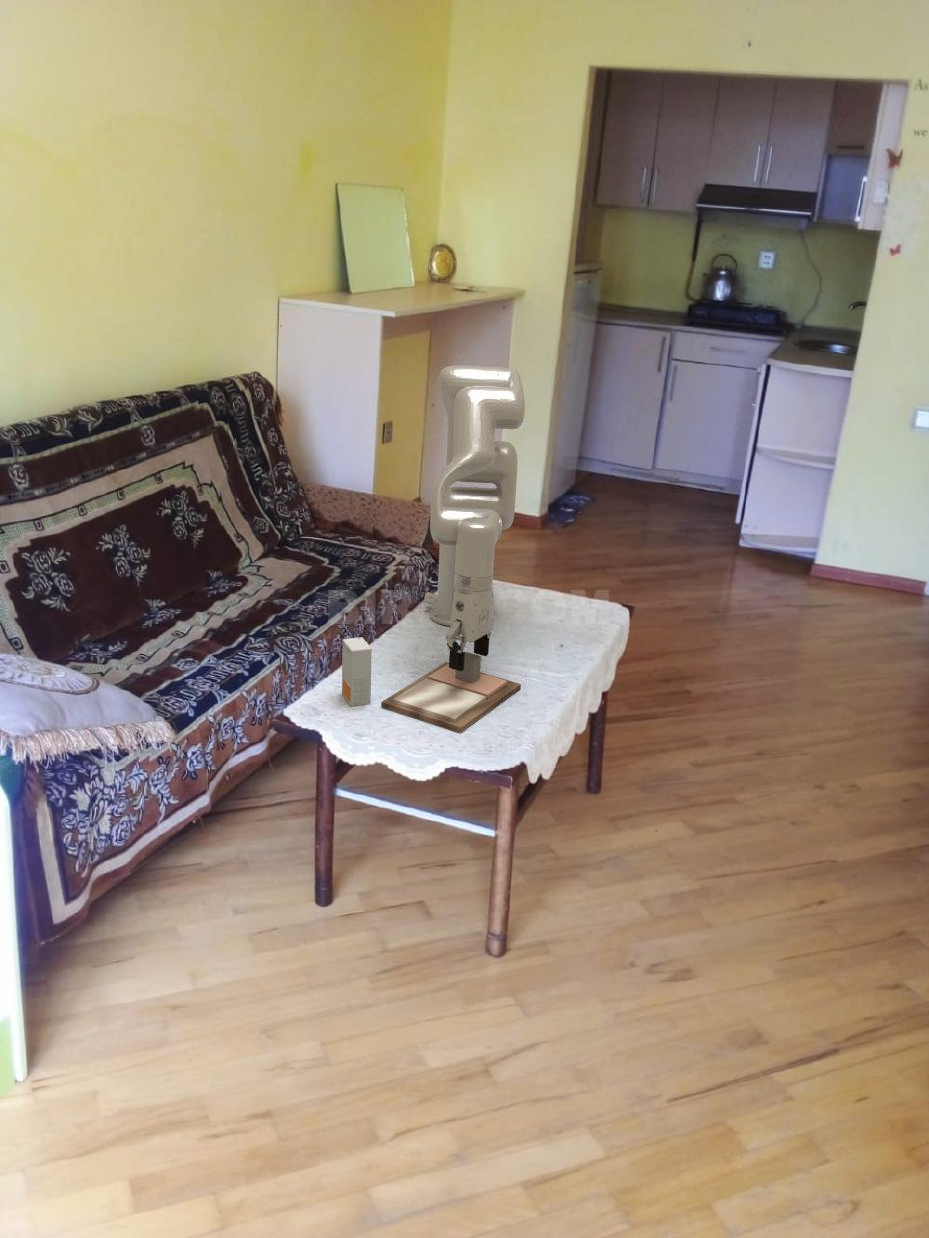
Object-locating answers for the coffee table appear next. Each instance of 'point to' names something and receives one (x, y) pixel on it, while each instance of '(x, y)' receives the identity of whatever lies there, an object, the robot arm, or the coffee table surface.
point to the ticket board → (446, 702)
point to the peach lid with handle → (469, 677)
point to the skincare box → (356, 671)
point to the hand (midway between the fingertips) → (468, 661)
